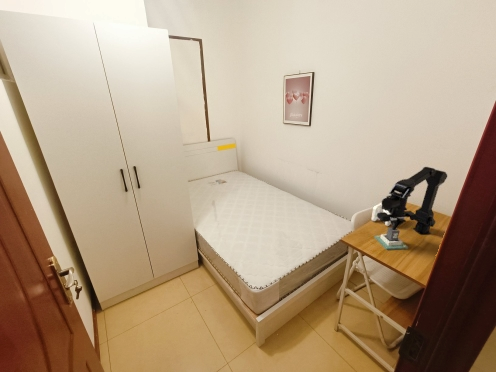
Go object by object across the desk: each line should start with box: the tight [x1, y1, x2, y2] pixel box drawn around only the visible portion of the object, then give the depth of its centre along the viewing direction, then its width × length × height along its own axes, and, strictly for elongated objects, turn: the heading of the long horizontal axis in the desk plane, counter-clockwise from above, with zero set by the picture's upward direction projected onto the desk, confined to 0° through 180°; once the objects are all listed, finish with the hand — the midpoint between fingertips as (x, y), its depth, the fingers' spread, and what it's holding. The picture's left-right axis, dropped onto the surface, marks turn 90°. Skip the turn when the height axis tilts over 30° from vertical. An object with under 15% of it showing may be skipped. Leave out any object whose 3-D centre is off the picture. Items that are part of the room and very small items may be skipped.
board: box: [373, 234, 409, 251], centre depth 126 cm, size 12×12×1 cm
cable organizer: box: [371, 201, 391, 227], centre depth 145 cm, size 15×11×12 cm
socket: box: [380, 233, 403, 246], centre depth 125 cm, size 8×8×2 cm
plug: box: [385, 227, 400, 241], centre depth 124 cm, size 4×4×8 cm
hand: (393, 229), depth 123 cm, fingers closed
